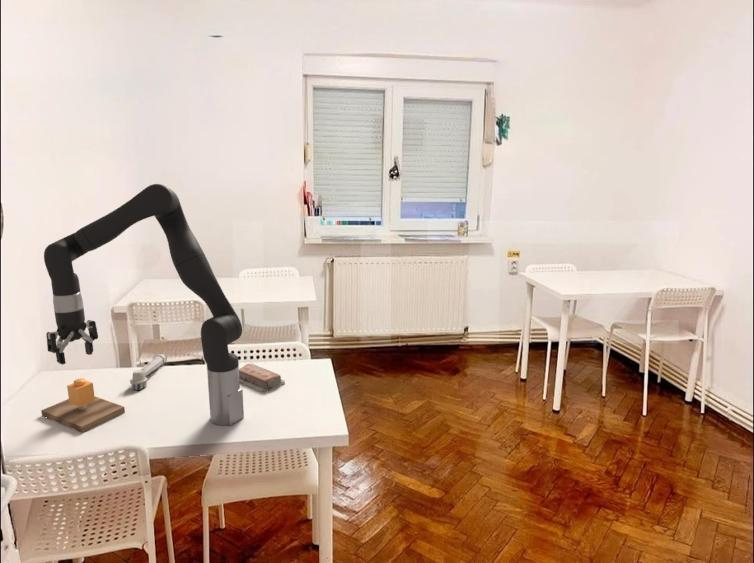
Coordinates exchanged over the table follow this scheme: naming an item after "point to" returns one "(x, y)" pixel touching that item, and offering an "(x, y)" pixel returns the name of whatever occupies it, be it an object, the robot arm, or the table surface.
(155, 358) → the gray handled tool
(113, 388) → the table surface
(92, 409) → the board
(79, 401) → the orange rounded block
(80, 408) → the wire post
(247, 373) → the packaged product
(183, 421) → the table surface
